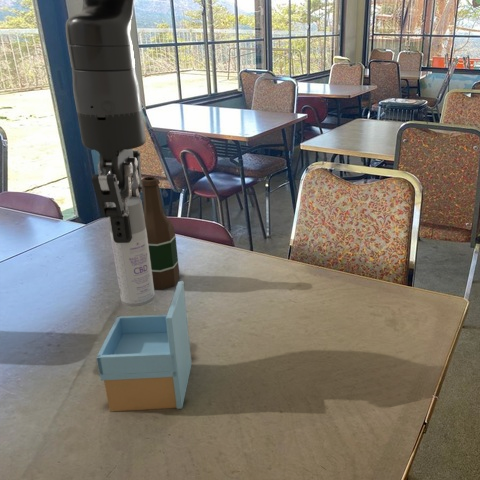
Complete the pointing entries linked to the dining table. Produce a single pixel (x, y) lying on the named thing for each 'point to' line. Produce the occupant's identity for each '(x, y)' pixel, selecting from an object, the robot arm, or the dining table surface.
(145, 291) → the container
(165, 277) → the beer bottle
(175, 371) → the blue and tan box
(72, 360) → the dining table surface
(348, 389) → the dining table surface
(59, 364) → the dining table surface
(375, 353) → the dining table surface
